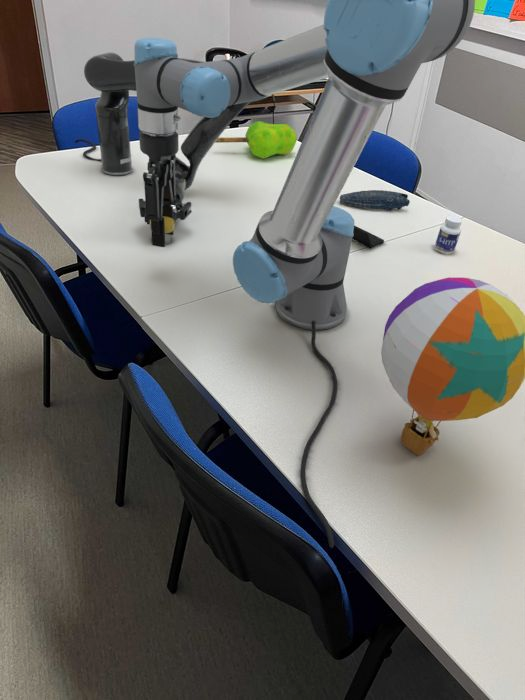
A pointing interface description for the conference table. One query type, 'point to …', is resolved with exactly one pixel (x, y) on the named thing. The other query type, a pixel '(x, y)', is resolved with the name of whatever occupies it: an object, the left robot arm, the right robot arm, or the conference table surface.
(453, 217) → the pill bottle
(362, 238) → the handheld gaming console
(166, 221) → the lid
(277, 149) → the decorative tree
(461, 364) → the toy
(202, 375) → the conference table surface
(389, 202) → the fish model
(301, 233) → the right robot arm
